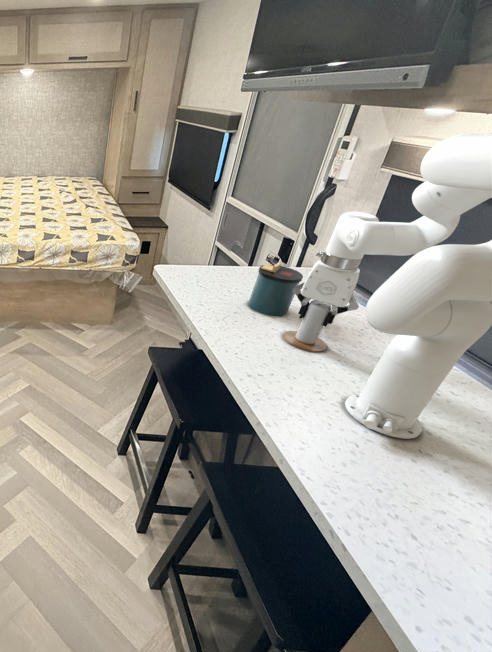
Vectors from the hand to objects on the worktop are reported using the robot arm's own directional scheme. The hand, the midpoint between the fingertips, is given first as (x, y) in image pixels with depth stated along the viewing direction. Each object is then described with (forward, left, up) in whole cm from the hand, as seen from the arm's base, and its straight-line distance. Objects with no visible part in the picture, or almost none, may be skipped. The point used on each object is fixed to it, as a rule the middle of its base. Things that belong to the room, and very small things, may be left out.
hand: (313, 320), depth 111 cm
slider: (+14, +17, +6) cm, 23 cm away
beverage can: (0, 0, -7) cm, 7 cm away
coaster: (0, 0, -7) cm, 7 cm away
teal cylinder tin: (+14, +14, -7) cm, 21 cm away
